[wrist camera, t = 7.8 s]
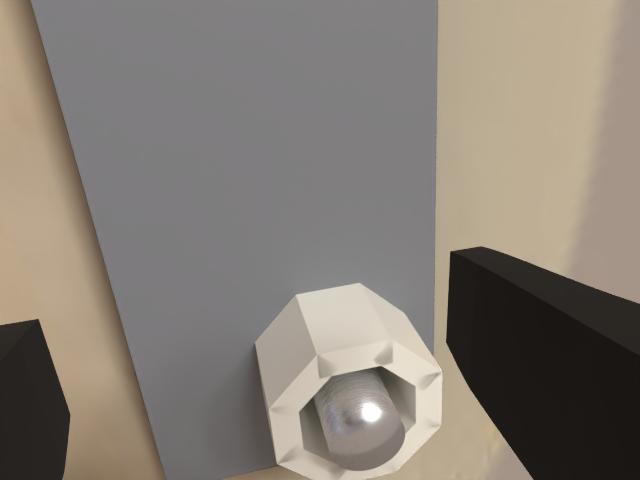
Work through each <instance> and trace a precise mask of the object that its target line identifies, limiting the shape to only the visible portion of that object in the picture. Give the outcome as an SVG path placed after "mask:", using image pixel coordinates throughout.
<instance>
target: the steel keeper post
mask: <svg viewBox="0 0 640 480" xmlns="http://www.w3.org/2000/svg"><path fill="white" fill-rule="evenodd" d="M313 400H314V403H315V406H316V410H317V413H318V416H319V419H320V422H321V426H322V429H323V432H324V435H325V438H326V442H327V445H328V448H329V451H330V454H331V457H332V459H333V461H334V462H335V463H336V464H337V465H338V466H340V467H342V468H344V469H347V470H351V471H366V470H371V469H374V468H377V467H379V466H381V465H383V464H385V463H386V462H388V461H389V460H391V459H392V458H393V457H394V456H395V455H396V454H397V453H398V452H399V450H400V449H401V447H402V445H403V443H404V440H405V427H404V425H403V423H402V420H401V418H400V416H399V414H398V412H397V410H396V408H395V406H394V404H393V402H392V400H391V398H390V396H389V394H388V392H387V390H386V388H385V386H384V384H383V382H382V380H381V378H380V376H379V374H378V372H377V370H376V368H375V367H373V368H368V369H363V370H359V371H354V372H349V373H344V374H340V375H335V376H331V377H330V378H329V379H328V381H327V382H326V383H325V384H324V385H323V386H322V387H321V388H320V389H319V390H318V392H317V393H316V394H315V395H314V396H313Z"/></svg>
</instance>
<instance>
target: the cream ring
mask: <svg viewBox="0 0 640 480" xmlns="http://www.w3.org/2000/svg"><path fill="white" fill-rule="evenodd" d="M255 346H256V352H257V358H258V364H259V371H260V377H261V383H262V390H263V396H264V401H265V406H266V412H267V417H268V422H269V427H270V432H271V437H272V442H273V447H274V452H275V457H276V462H277V464H278V465H280V466H283V467H285V468H287V469H289V470H292V471H294V472H296V473H298V474H301V475H303V476H305V477H307V478H310V479H312V480H364V479H368V478H372V477H376V476H381V475H385V474H389V473H393V472H396V471H397V470H398V469H399V468H400V467H401V466H402V465H403V464H404V463H405V462H406V461H407V460H408V459H409V458H410V457H411V456H412V455H413V454H414V453H415V452H416V451H417V450H418V449H419V448H420V447H421V446H422V445H423V444H424V443H425V442H426V441H427V440H428V439H429V438H430V437H431V436H432V435H433V434H434V433H435V432H436V431H437V430H438V429H439V428H440V427H441V410H442V372H443V371H442V370H441V368H440V367H439V365H438V364H437V362H436V361H435V359H434V358H433V356H432V355H431V353H430V351H429V350H428V348H427V347H426V345H425V344H424V342H423V341H422V339H421V338H420V336H419V335H418V333H417V332H416V330H415V328H414V327H413V325H412V324H411V322H410V321H409V319H408V318H407V316H406V315H405V313H404V312H402V311H401V310H399V309H398V308H396V307H395V306H393V305H392V304H390V303H389V302H387V301H386V300H384V299H383V298H381V297H380V296H379V295H377V294H376V293H374V292H373V291H371V290H370V289H368V288H367V287H365V286H364V285H362V284H361V283H356V284H351V285H345V286H340V287H334V288H329V289H323V290H318V291H313V292H307V293H302V294H296V295H295V296H294V297H293V298H292V299H291V301H290V302H289V303H288V304H287V305H286V306H285V308H284V309H283V310H282V311H281V312H280V313H279V315H278V316H277V317H276V318H275V319H274V320H273V322H272V323H271V324H270V325H269V326H268V327H267V329H266V330H265V331H264V332H263V333H262V334H261V336H260V337H259V338H258V339H257V340H256V341H255ZM373 367H375V368H376V370H377V372H378V374H379V376H380V378H381V380H382V382H383V384H384V386H385V388H386V390H387V392H388V394H389V396H390V398H391V400H392V402H393V404H394V406H395V408H396V410H397V412H398V414H399V416H400V418H401V420H402V423H403V425H404V427H405V440H404V443H403V445H402V447H401V449H400V450H399V452H398V453H397V454H396V455H395V456H394V457H393V458H392V459H391V460H389V461H388V462H386V463H385V464H383V465H381V466H379V467H377V468H374V469H371V470H366V471H351V470H347V469H344V468H342V467H340V466H338V465H337V464H336V463H335V462H334V461H333V459H332V457H331V454H330V451H329V448H328V445H327V442H326V438H325V435H324V432H323V429H322V426H321V422H320V419H319V416H318V413H317V410H316V406H315V403H314V400H313V396H314V395H315V394H316V393H317V392H318V390H319V389H320V388H321V387H322V386H323V385H324V384H325V383H326V382H327V381H328V379H329V378H330V377H331V376H335V375H340V374H344V373H349V372H354V371H359V370H363V369H368V368H373Z"/></svg>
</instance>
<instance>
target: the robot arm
mask: <svg viewBox="0 0 640 480" xmlns="http://www.w3.org/2000/svg"><path fill="white" fill-rule="evenodd" d="M446 343H447V345H448V347H449V349H450V351H451V353H452V355H453V357H454V359H455V361H456V363H457V366H458V367H459V369H460V371H461V373H462V375H463V377H464V379H465V381H466V383H467V384H468V386H469V388H470V389H471V391H472V392H473V394H474V395H475V397H476V398H477V400H478V401H479V403H480V404H481V406H482V407H483V408H484V410H485V411H486V413H487V414H488V416H489V417H490V419H491V420H492V421H493V423H494V424H495V426H496V427H497V429H498V430H499V431H500V433H501V434H502V436H503V437H504V438H505V440H506V441H507V443H508V444H509V446H510V447H511V448H512V450H513V451H514V453H515V454H516V455H517V457H518V458H519V460H520V461H521V462H522V464H523V465H524V467H525V468H526V470H527V471H528V472H529V474H530V475H531V477H532V478H533V479H534V480H640V304H639V303H636V302H632V301H630V300H626V299H624V298H621V297H618V296H615V295H612V294H609V293H606V292H604V291H601V290H598V289H595V288H593V287H590V286H587V285H584V284H582V283H579V282H577V281H574V280H572V279H569V278H566V277H564V276H561V275H559V274H556V273H554V272H551V271H549V270H546V269H543V268H541V267H538V266H536V265H533V264H531V263H528V262H526V261H523V260H520V259H518V258H515V257H512V256H510V255H507V254H504V253H501V252H498V251H495V250H492V249H489V248H485V247H475V248H469V249H463V250H457V251H451V252H450V271H449V293H448V314H447V336H446ZM69 424H70V412H69V409H68V406H67V403H66V400H65V397H64V394H63V391H62V388H61V385H60V382H59V379H58V376H57V373H56V370H55V367H54V364H53V361H52V358H51V355H50V352H49V349H48V346H47V343H46V340H45V337H44V334H43V331H42V328H41V325H40V322H39V319H36V320H30V321H24V322H18V323H11V324H5V325H0V480H62V478H63V474H64V469H65V461H66V453H67V445H68V434H69Z"/></svg>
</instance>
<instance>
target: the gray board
mask: <svg viewBox="0 0 640 480" xmlns="http://www.w3.org/2000/svg"><path fill="white" fill-rule="evenodd" d="M31 3H32V7H33V10H34V14H35V18H36V21H37V25H38V28H39V32H40V35H41V39H42V42H43V46H44V49H45V53H46V57H47V60H48V64H49V67H50V71H51V74H52V78H53V81H54V85H55V88H56V92H57V95H58V99H59V103H60V106H61V110H62V113H63V117H64V120H65V124H66V127H67V131H68V134H69V138H70V141H71V145H72V149H73V152H74V156H75V159H76V163H77V166H78V170H79V173H80V177H81V180H82V184H83V188H84V191H85V195H86V198H87V202H88V205H89V209H90V212H91V216H92V219H93V223H94V226H95V230H96V234H97V237H98V241H99V244H100V248H101V251H102V255H103V258H104V262H105V265H106V269H107V273H108V276H109V280H110V283H111V287H112V290H113V294H114V297H115V301H116V304H117V308H118V311H119V315H120V319H121V322H122V326H123V329H124V333H125V336H126V340H127V343H128V347H129V350H130V354H131V357H132V361H133V365H134V368H135V372H136V375H137V379H138V382H139V386H140V389H141V393H142V396H143V400H144V404H145V407H146V411H147V414H148V418H149V421H150V425H151V428H152V432H153V435H154V439H155V442H156V446H157V450H158V453H159V457H160V460H161V464H162V467H163V471H164V474H165V478H166V480H219V479H223V478H227V477H231V476H236V475H240V474H244V473H249V472H253V471H257V470H261V469H266V468H270V467H274V466H278V464H277V462H276V457H275V452H274V447H273V442H272V437H271V432H270V427H269V422H268V417H267V412H266V406H265V401H264V396H263V390H262V383H261V377H260V371H259V364H258V358H257V352H256V346H255V341H256V340H257V339H258V338H259V337H260V336H261V334H262V333H263V332H264V331H265V330H266V329H267V327H268V326H269V325H270V324H271V323H272V322H273V320H274V319H275V318H276V317H277V316H278V315H279V313H280V312H281V311H282V310H283V309H284V308H285V306H286V305H287V304H288V303H289V302H290V301H291V299H292V298H293V297H294V296H295V295H296V294H302V293H307V292H313V291H318V290H323V289H329V288H334V287H340V286H345V285H351V284H356V283H361V284H362V285H364V286H365V287H367V288H368V289H370V290H371V291H373V292H374V293H376V294H377V295H379V296H380V297H381V298H383V299H384V300H386V301H387V302H389V303H390V304H392V305H393V306H395V307H396V308H398V309H399V310H401V311H402V312H404V313H405V315H406V316H407V318H408V319H409V321H410V322H411V324H412V325H413V327H414V328H415V330H416V332H417V333H418V335H419V336H420V338H421V339H422V341H423V342H424V344H425V345H426V347H427V348H428V350H429V351H430V353H431V355H432V356H433V358H434V286H435V206H436V125H437V45H438V0H31Z"/></svg>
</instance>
